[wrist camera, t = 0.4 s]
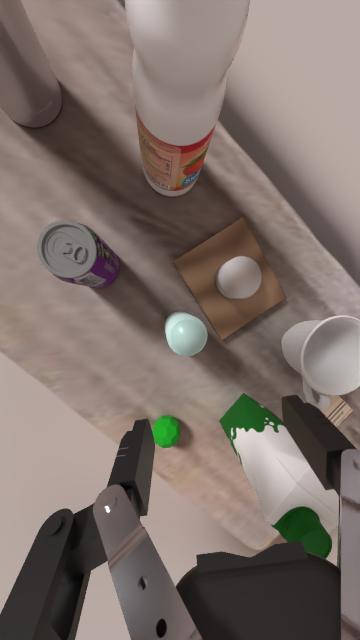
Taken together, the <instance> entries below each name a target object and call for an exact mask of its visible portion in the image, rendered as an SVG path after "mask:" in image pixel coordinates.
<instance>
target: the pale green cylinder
mask: <svg viewBox="0 0 360 640" xmlns="http://www.w3.org/2000/svg"><path fill="white" fill-rule="evenodd" d="M164 328H165V333H166V337H167V341H168V344H169V346H170V348H171V349H172V350H173V351H174V352H175V353H177V354H179V355H182V356H192V355H195V354H197V353H198V352H200V351H201V350H202V349H203V348H204V346H205V344H206V342H207V329H206V327H205V325H204V324H203V322H202V321H201V320H199V319H198V318H196V317H194V316H192V315H190V314H188V313H185V312H182V311H177V312H174V313H172V314H170V315H169V316H168V317H167V319H166V321H165V325H164Z"/></svg>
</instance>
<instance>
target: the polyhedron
mask: <svg viewBox="0 0 360 640" xmlns="http://www.w3.org/2000/svg"><path fill="white" fill-rule="evenodd" d="M180 431H181V430H180V427H179V424H178V422H177V420H176V419H174V418H173V417H171V416H169V415H166V416H162V417H161V418H159V419H158V420H157V421H155V424H154V427H153V430H152V433H153V437H154V440H155V443H156V444H158V445H159V446H161V447H163V448H170V447H171V446H173V445H174V444H175V443H176V442H178V439H179V435H180Z"/></svg>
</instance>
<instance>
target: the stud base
mask: <svg viewBox="0 0 360 640" xmlns="http://www.w3.org/2000/svg"><path fill="white" fill-rule="evenodd" d="M173 264H174V266H175V267H176V269H177V270H178V272H179V274H180V275H181V277H182V278H183V280H184V282H185V283H186V285H187V287H188V288H189V290H190V291H191V293H192V295H193V296H194V298H195V299H196V301H197V303H198V304H199V306H200V308H201V309H202V311H203V312H204V314H205V316H206V317H207V319H208V320H209V322H210V324H211V325H212V327H213V329H214V330H215V332H216V333H217V335H218V337H219V338H220V339H221V340H223V339H224V338H226V337H228V336H229V335H231V334H232V333H234V332H235V331H237V330H238V329H240V328H241V327H243V326H244V325H246V324H247V323H249V322H250V321H252V320H253V319H255V318H256V317H258V316H259V315H261V314H262V313H264V312H265V311H267V310H268V309H270V308H272V307H273V306H275V305H276V304H278V303H279V302H281V301H282V300H284V299H285V298H287V297H286V295H285V293H284V291H283V289H282V288H281V286H280V284H279V282H278V280H277V278H276V277H275V275H274V273H273V271H272V269H271V267H270V265H269V264H268V262H267V260H266V258H265V256H264V254H263V253H262V251H261V249H260V247H259V245H258V243H257V242H256V240H255V238H254V236H253V234H252V232H251V231H250V229H249V227H248V225H247V223H246V221H245V220H244V218H243V217H242V218H241V219H239V220H238V221H236V222H234V223H233V224H231V225H230V226H228V227H227V228H225V229H223V230H222V231H220V232H219V233H217V234H216V235H214V236H212V237H211V238H209V239H208V240H206V241H205V242H203V243H201V244H200V245H198V246H197V247H195V248H194V249H192V250H190V251H189V252H187V253H186V254H184V255H183V256H181V257H179V258H178V259H176V260H175V261H173Z"/></svg>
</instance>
